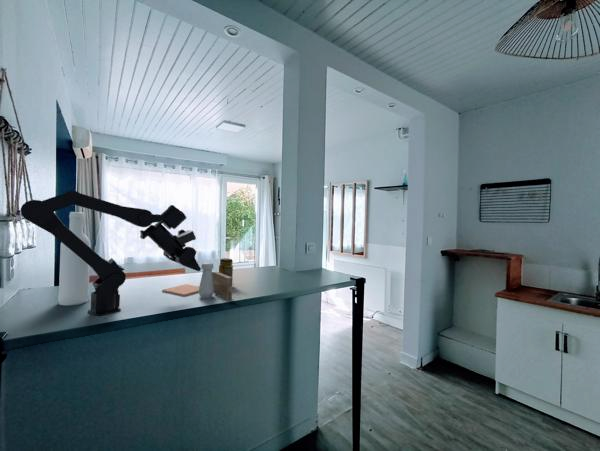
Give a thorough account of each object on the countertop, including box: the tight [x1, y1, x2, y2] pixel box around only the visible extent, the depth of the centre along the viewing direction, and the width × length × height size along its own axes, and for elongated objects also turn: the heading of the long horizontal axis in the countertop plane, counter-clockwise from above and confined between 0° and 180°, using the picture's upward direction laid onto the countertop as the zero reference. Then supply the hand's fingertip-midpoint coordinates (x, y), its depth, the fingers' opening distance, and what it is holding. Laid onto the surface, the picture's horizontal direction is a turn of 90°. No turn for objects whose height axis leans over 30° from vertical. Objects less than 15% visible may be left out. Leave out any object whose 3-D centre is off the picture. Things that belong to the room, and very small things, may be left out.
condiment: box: [218, 257, 234, 289], centre depth 126 cm, size 7×8×12 cm
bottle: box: [57, 211, 91, 307], centre depth 94 cm, size 8×8×30 cm
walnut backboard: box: [212, 271, 234, 300], centre depth 111 cm, size 2×14×8 cm, turn 41°
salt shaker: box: [197, 262, 215, 299], centre depth 107 cm, size 6×6×13 cm
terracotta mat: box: [161, 283, 200, 297], centre depth 115 cm, size 12×12×1 cm
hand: (195, 268), depth 104 cm, fingers open, 9 cm apart
